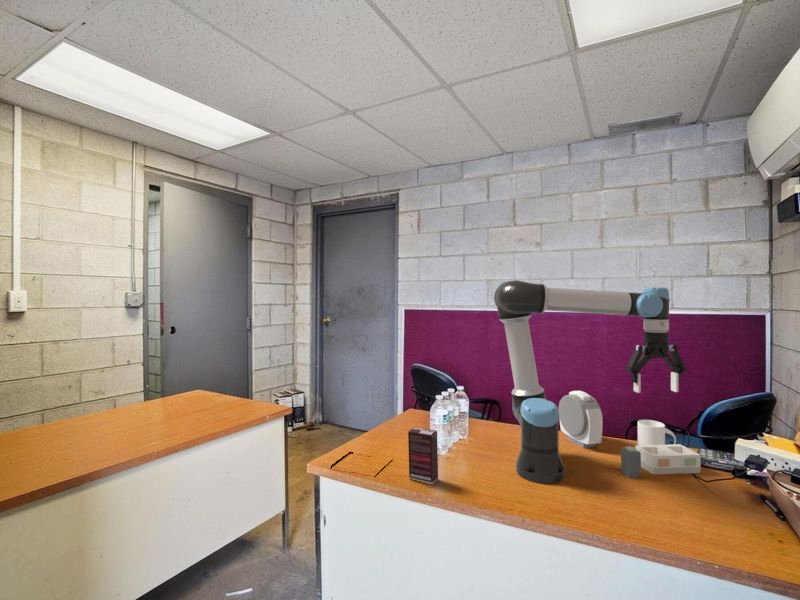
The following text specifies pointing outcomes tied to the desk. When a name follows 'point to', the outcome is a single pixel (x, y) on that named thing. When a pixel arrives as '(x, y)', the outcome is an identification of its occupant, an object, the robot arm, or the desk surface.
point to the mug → (652, 433)
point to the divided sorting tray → (669, 459)
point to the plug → (630, 462)
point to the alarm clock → (581, 419)
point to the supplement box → (423, 455)
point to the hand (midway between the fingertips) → (655, 391)
